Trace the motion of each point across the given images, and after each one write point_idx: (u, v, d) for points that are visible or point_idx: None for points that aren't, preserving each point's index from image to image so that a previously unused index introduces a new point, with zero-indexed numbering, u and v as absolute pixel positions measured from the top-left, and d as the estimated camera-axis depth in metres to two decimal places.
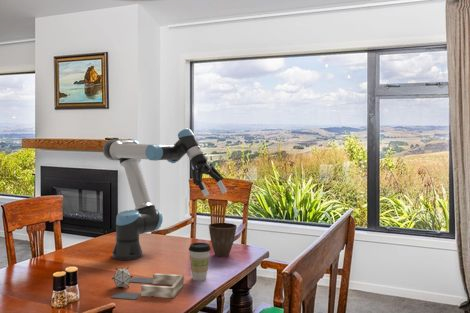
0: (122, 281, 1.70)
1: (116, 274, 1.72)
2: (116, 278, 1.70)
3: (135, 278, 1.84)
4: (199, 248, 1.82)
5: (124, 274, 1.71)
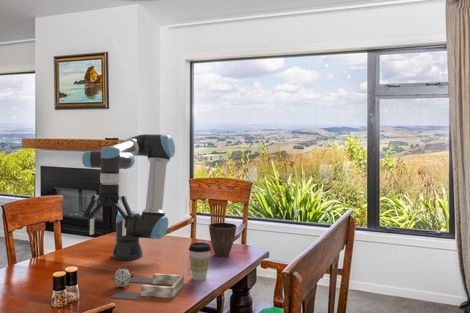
0: (122, 281, 1.70)
1: (116, 274, 1.72)
2: (116, 278, 1.70)
3: (135, 278, 1.84)
4: (199, 248, 1.82)
5: (124, 274, 1.71)
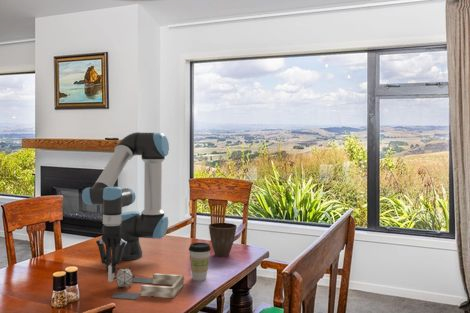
0: (123, 281, 1.70)
1: (118, 274, 1.71)
2: (118, 278, 1.70)
3: (135, 278, 1.84)
4: (199, 248, 1.82)
5: (126, 274, 1.71)
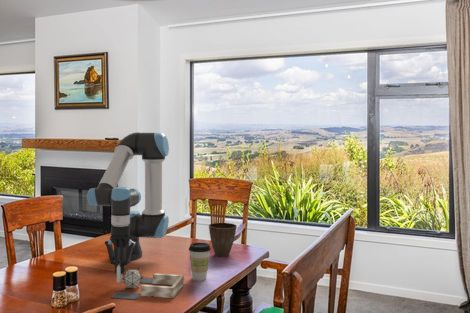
0: (131, 282, 1.69)
1: (126, 275, 1.71)
2: (126, 279, 1.70)
3: None
4: (199, 248, 1.82)
5: (134, 275, 1.70)
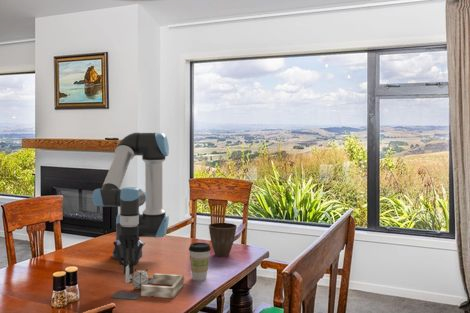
0: (139, 283, 1.68)
1: (134, 275, 1.70)
2: (134, 279, 1.69)
3: None
4: (199, 248, 1.82)
5: (142, 276, 1.69)
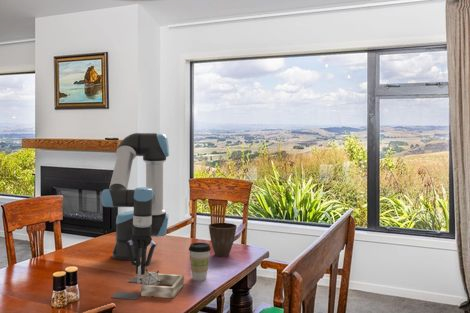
0: (147, 284, 1.67)
1: (144, 276, 1.69)
2: (143, 280, 1.68)
3: (135, 278, 1.84)
4: (199, 248, 1.82)
5: (151, 277, 1.68)
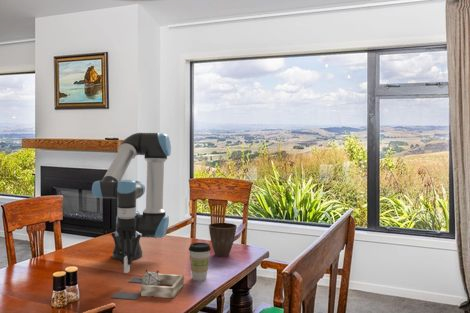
0: (147, 284, 1.67)
1: (144, 276, 1.69)
2: (143, 280, 1.68)
3: (135, 278, 1.84)
4: (199, 248, 1.82)
5: (151, 277, 1.68)
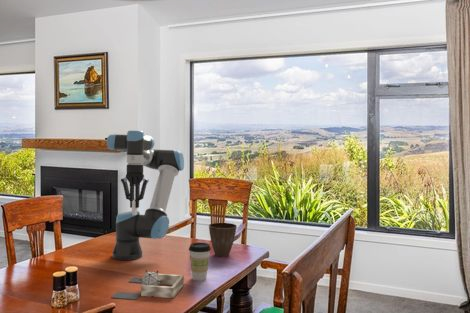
0: (147, 284, 1.67)
1: (144, 276, 1.69)
2: (143, 280, 1.68)
3: (135, 278, 1.84)
4: (199, 248, 1.82)
5: (151, 277, 1.68)
